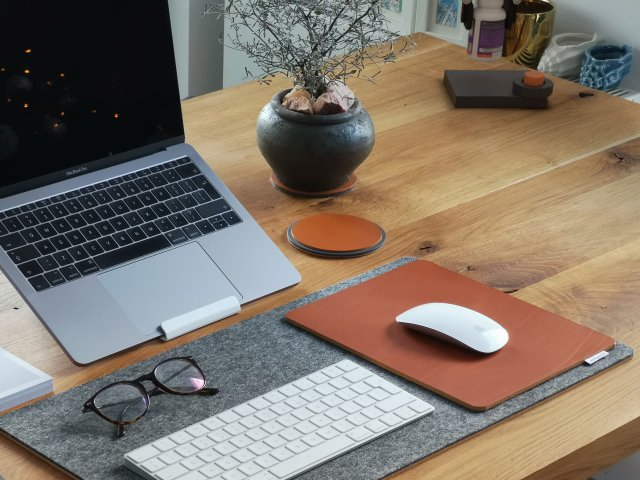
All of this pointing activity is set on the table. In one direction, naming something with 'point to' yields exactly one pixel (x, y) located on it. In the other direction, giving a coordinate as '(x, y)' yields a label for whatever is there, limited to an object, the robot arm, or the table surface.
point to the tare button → (533, 78)
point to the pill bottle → (487, 31)
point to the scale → (495, 89)
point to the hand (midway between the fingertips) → (487, 26)
